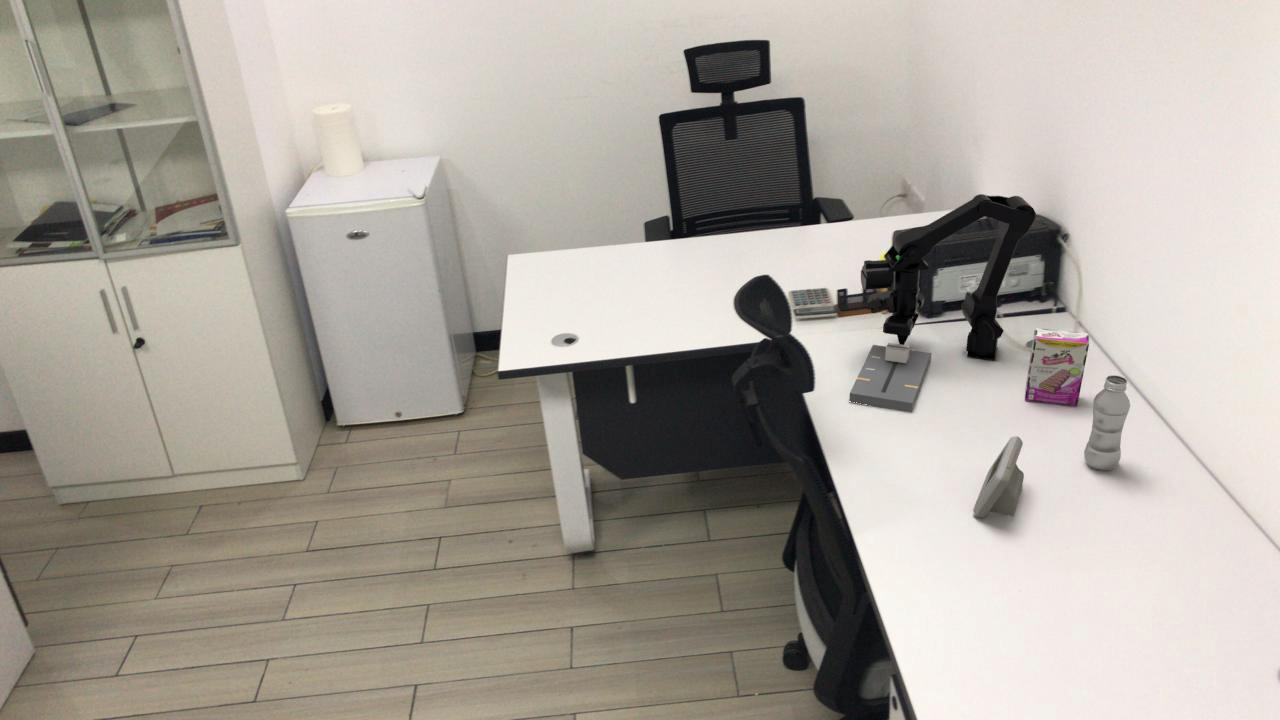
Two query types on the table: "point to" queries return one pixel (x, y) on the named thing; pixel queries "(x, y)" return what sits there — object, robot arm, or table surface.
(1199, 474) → the table surface
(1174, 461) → the table surface
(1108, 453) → the plastic bottle
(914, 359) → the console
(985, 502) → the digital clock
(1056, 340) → the candy bar box
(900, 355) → the fader knob
